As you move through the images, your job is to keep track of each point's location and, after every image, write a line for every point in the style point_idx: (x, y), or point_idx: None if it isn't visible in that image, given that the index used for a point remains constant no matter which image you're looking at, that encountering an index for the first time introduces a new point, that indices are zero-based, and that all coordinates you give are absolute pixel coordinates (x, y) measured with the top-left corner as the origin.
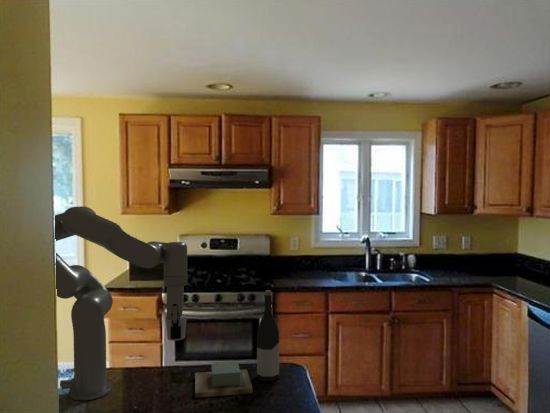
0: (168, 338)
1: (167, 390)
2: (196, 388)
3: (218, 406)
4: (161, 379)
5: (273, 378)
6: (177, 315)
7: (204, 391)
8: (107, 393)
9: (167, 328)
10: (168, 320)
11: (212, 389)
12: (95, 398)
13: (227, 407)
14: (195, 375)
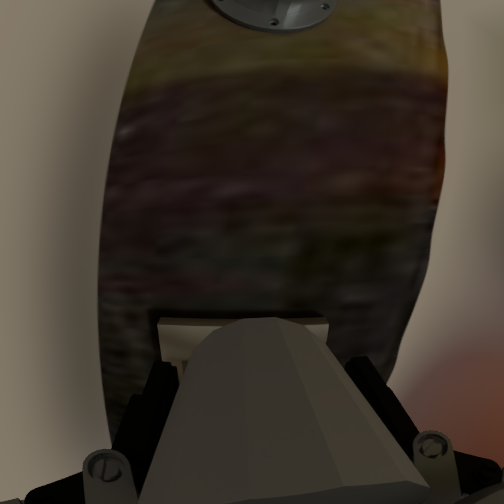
0: (216, 333)
1: (232, 226)
2: (191, 329)
3: (109, 366)
4: (337, 200)
5: None
6: None
7: (165, 350)
8: (244, 26)
9: (205, 393)
10: (152, 499)
11: (179, 371)
12: (211, 2)
13: (106, 382)
14: (305, 326)
